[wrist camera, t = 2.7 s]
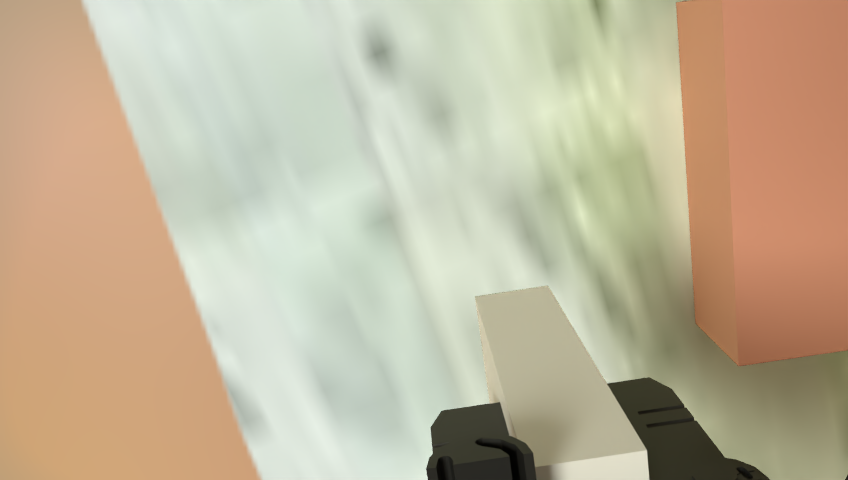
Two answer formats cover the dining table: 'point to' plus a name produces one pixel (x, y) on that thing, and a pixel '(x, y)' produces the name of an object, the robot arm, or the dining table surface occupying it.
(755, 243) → the t block
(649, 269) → the dining table surface
